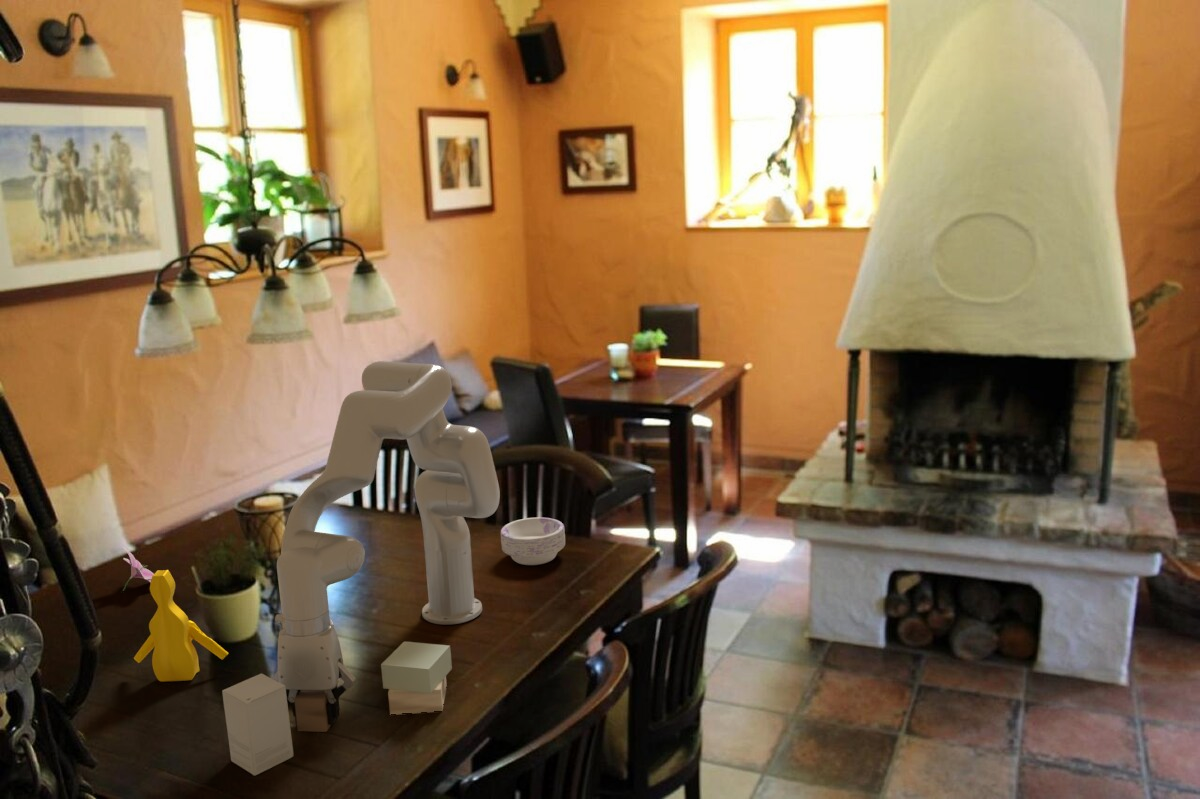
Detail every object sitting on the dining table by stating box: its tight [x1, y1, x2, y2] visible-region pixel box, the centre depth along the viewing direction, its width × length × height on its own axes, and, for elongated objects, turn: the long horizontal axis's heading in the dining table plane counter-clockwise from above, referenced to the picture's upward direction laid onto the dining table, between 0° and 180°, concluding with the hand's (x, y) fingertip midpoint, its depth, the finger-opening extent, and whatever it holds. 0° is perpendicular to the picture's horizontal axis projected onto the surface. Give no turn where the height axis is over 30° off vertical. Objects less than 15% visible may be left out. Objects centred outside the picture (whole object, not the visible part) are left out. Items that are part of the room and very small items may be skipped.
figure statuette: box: [133, 569, 229, 682], centre depth 194 cm, size 18×8×22 cm, turn 91°
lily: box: [122, 545, 155, 591], centre depth 239 cm, size 12×12×10 cm
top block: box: [380, 641, 453, 693], centre depth 184 cm, size 9×9×4 cm
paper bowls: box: [500, 516, 566, 566], centre depth 248 cm, size 15×15×8 cm
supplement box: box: [222, 672, 294, 776], centre depth 167 cm, size 7×7×13 cm
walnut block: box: [294, 690, 332, 733], centre depth 178 cm, size 5×5×6 cm
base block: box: [387, 675, 448, 716], centre depth 185 cm, size 9×9×4 cm
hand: (317, 719), depth 178 cm, fingers closed on walnut block, 5 cm apart
